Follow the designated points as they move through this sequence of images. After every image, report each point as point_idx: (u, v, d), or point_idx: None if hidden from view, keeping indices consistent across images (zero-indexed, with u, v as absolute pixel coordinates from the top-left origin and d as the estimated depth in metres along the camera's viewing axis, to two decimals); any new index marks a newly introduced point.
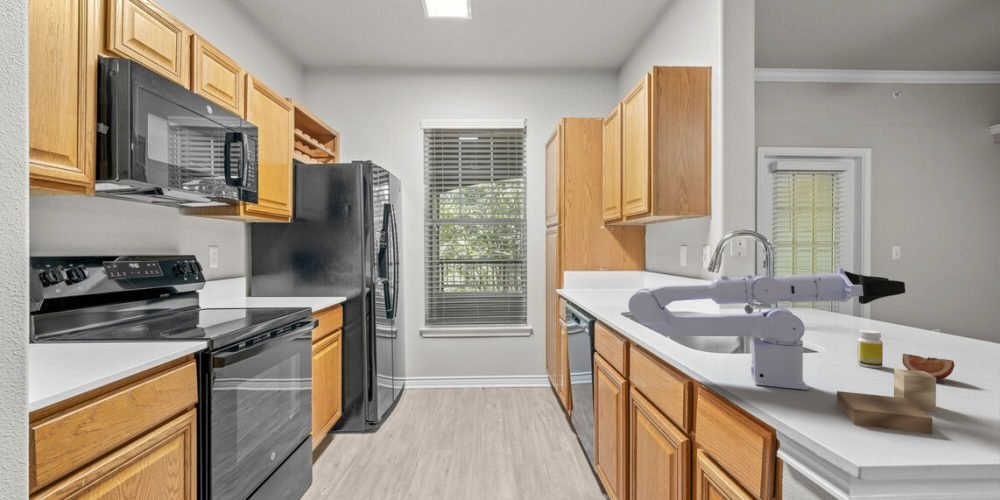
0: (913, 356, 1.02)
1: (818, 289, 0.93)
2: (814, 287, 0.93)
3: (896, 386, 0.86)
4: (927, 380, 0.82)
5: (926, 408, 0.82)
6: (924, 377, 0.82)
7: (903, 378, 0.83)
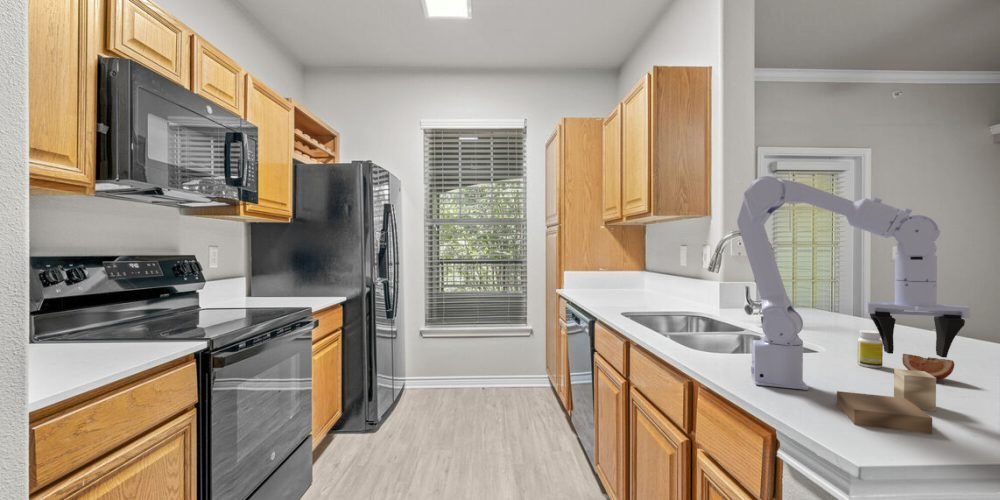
0: (913, 356, 1.02)
1: (895, 281, 0.85)
2: (918, 279, 0.82)
3: (896, 386, 0.86)
4: (927, 380, 0.82)
5: (926, 408, 0.82)
6: (924, 377, 0.82)
7: (903, 378, 0.83)
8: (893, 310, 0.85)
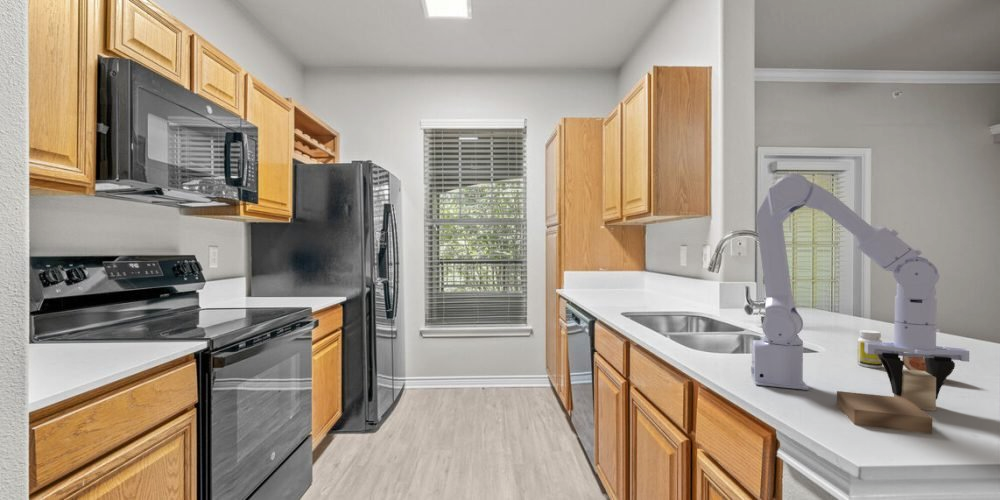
0: None
1: (895, 322, 0.85)
2: (918, 322, 0.82)
3: None
4: (927, 380, 0.82)
5: (926, 408, 0.82)
6: (924, 377, 0.82)
7: (903, 378, 0.83)
8: (893, 351, 0.85)
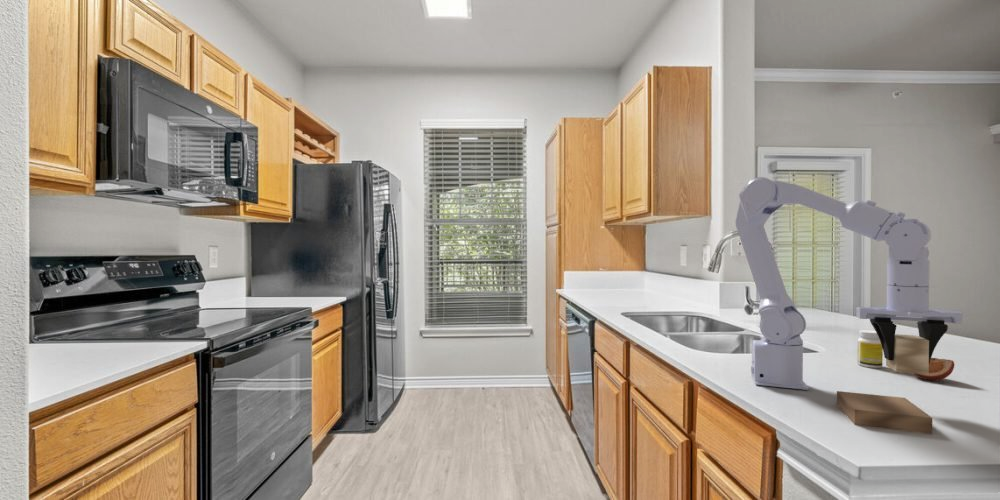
0: None
1: (887, 286, 0.84)
2: (907, 284, 0.80)
3: None
4: (920, 343, 0.80)
5: (919, 371, 0.80)
6: (917, 340, 0.80)
7: (895, 342, 0.82)
8: (885, 315, 0.84)
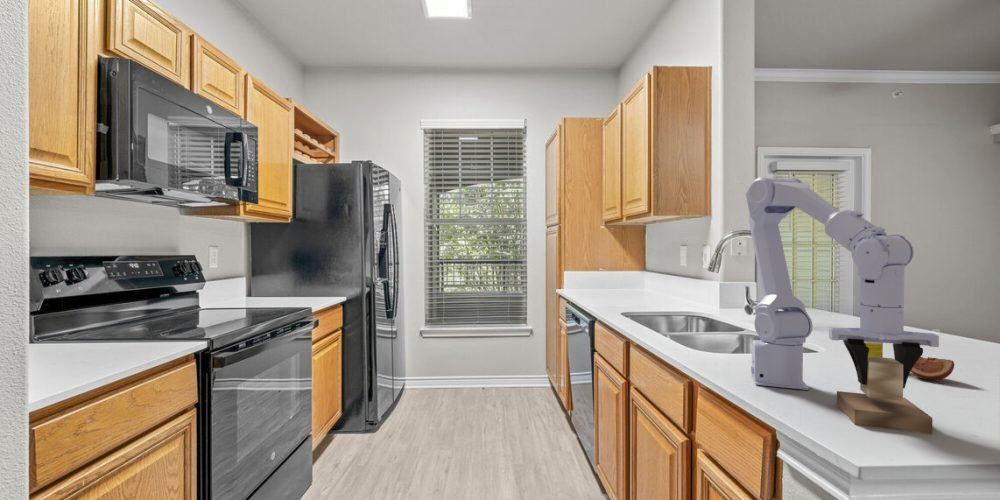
0: None
1: (861, 305, 0.79)
2: (870, 303, 0.77)
3: None
4: (893, 367, 0.76)
5: (893, 397, 0.76)
6: (890, 364, 0.76)
7: (868, 365, 0.77)
8: (858, 337, 0.79)
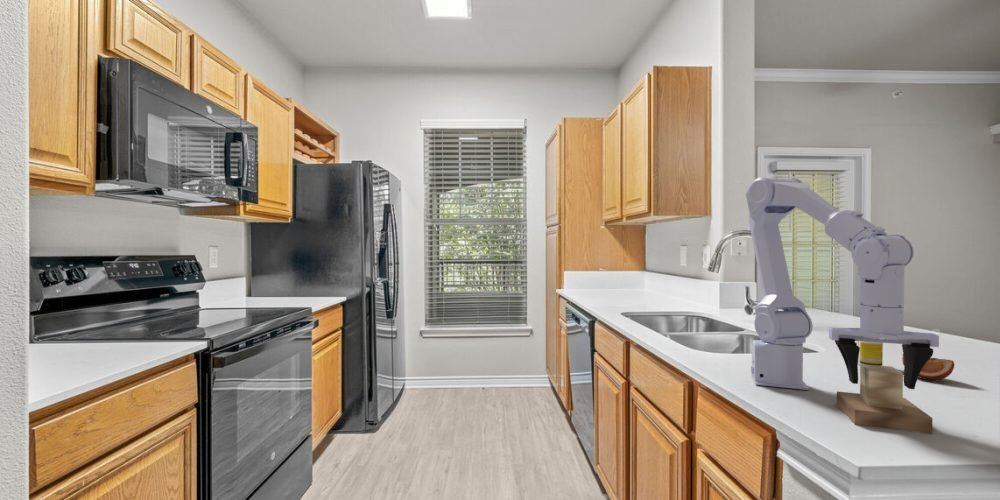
0: None
1: (861, 305, 0.79)
2: (870, 303, 0.77)
3: (862, 382, 0.80)
4: (893, 376, 0.76)
5: (892, 406, 0.76)
6: (890, 372, 0.76)
7: (868, 374, 0.77)
8: (858, 337, 0.79)
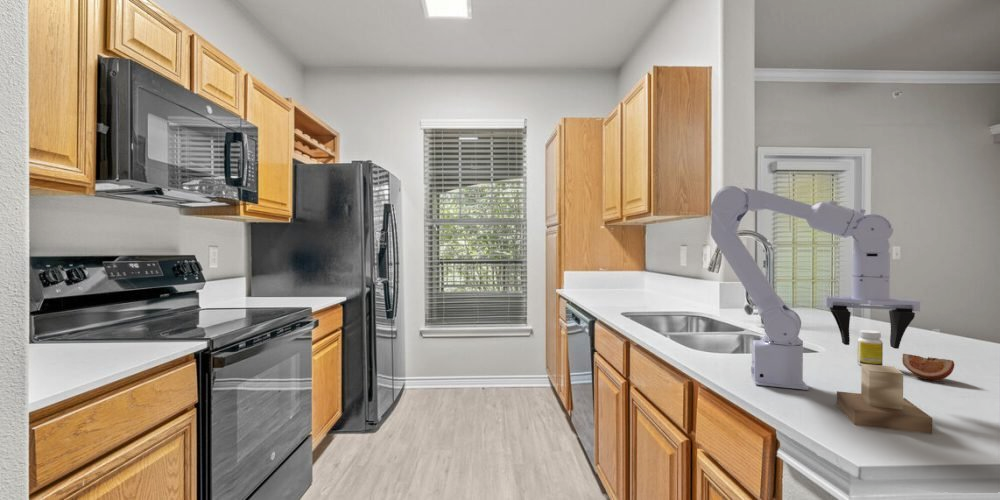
0: (913, 356, 1.02)
1: (852, 276, 0.90)
2: (874, 274, 0.86)
3: (863, 382, 0.80)
4: (894, 376, 0.76)
5: (893, 406, 0.76)
6: (891, 373, 0.76)
7: (868, 374, 0.77)
8: (850, 304, 0.90)
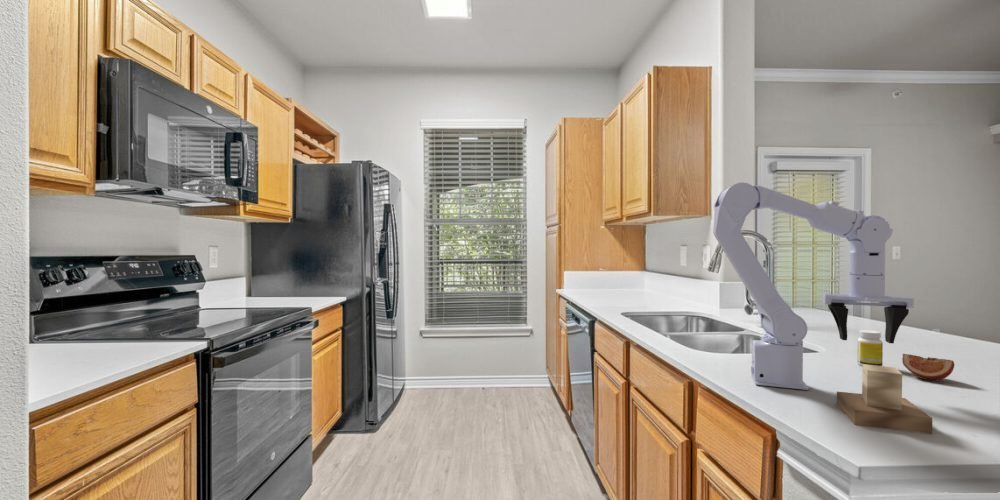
0: (913, 356, 1.02)
1: (849, 275, 0.94)
2: (876, 273, 0.91)
3: (863, 382, 0.80)
4: (892, 376, 0.76)
5: (891, 406, 0.76)
6: (889, 373, 0.76)
7: (867, 374, 0.77)
8: (847, 301, 0.94)
